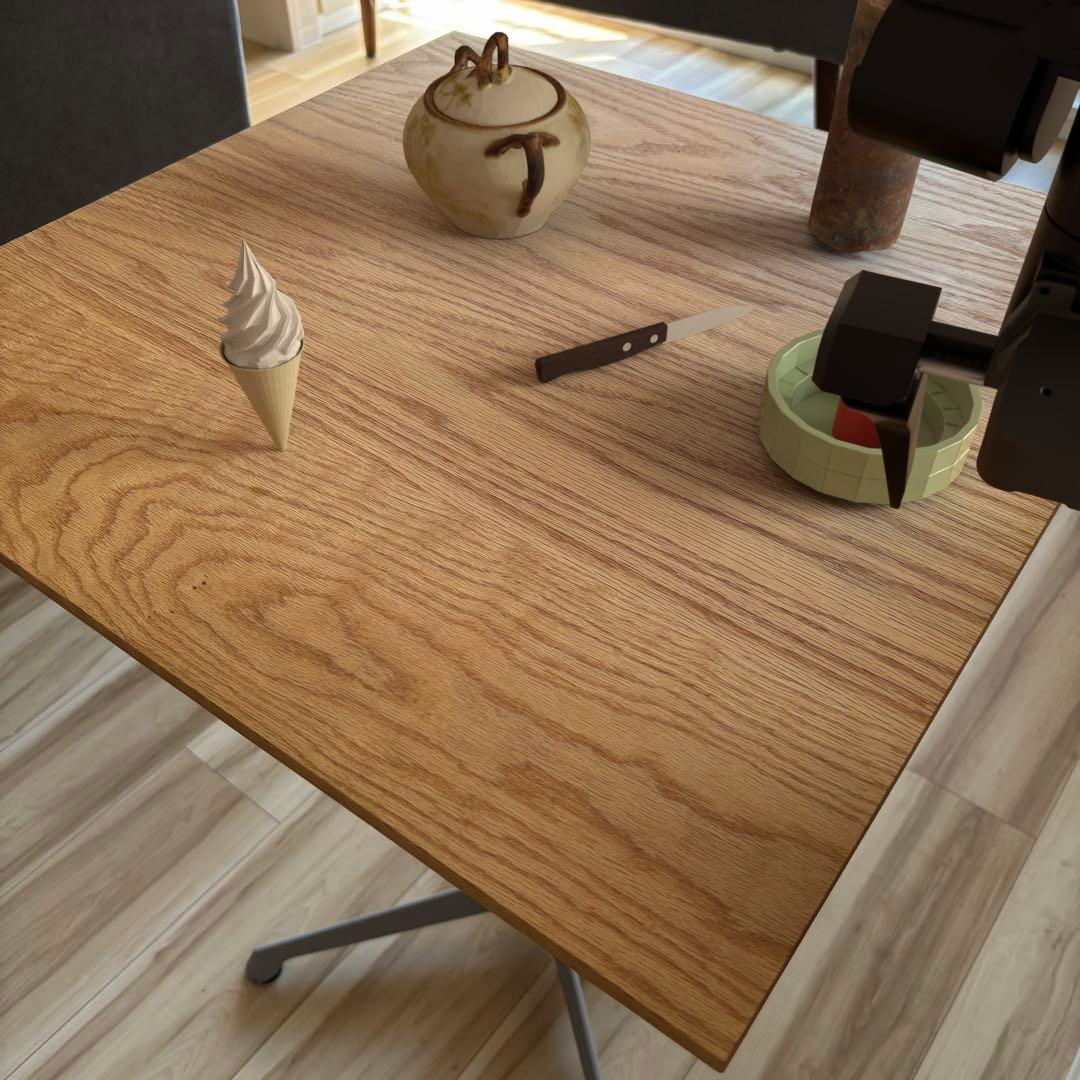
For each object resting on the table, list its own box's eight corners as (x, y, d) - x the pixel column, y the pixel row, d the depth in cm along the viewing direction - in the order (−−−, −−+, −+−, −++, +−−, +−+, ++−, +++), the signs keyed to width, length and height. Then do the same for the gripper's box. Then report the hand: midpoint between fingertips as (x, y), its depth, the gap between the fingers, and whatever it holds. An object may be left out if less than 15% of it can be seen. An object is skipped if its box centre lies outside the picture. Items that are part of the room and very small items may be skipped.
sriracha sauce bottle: (896, 426, 75) (915, 360, 71) (884, 461, 72) (904, 394, 68) (838, 411, 76) (855, 345, 72) (825, 445, 73) (841, 378, 69)
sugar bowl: (626, 259, 90) (639, 70, 79) (444, 292, 86) (433, 98, 76) (543, 150, 103) (545, -25, 93) (382, 174, 100) (366, -4, 89)
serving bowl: (976, 410, 77) (996, 355, 74) (943, 535, 68) (964, 479, 65) (786, 362, 80) (797, 308, 77) (732, 475, 72) (742, 420, 69)
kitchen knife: (539, 388, 78) (539, 364, 77) (532, 380, 79) (532, 357, 77) (756, 320, 84) (760, 297, 83) (748, 314, 85) (752, 291, 83)
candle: (917, 256, 91) (989, -6, 77) (838, 274, 89) (898, 8, 75) (864, 211, 96) (923, -42, 82) (788, 227, 94) (835, -30, 80)
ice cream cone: (336, 436, 74) (305, 230, 64) (293, 483, 71) (253, 274, 60) (272, 415, 76) (231, 210, 65) (226, 460, 72) (176, 252, 62)
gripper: (815, 271, 38) (749, 589, 49) (1457, 417, 32) (1220, 736, 43) (882, 133, 45) (812, 437, 56) (1416, 234, 40) (1222, 547, 51)
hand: (998, 531), depth 51 cm, fingers open, 9 cm apart
